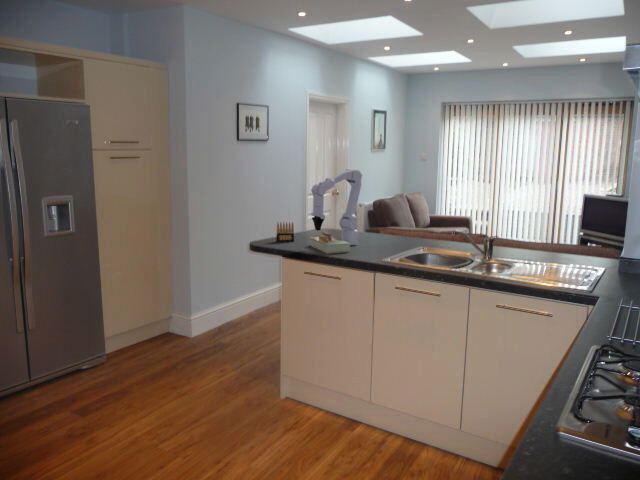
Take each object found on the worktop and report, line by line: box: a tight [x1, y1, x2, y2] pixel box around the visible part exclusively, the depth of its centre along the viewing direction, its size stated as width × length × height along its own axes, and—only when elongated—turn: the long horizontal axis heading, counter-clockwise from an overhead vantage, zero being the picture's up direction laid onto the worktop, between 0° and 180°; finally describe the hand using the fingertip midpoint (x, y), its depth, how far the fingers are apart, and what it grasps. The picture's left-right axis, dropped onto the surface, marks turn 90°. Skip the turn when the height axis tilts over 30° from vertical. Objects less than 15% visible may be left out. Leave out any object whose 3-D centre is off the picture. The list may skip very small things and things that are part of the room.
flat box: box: [309, 238, 351, 255], centre depth 294 cm, size 14×24×5 cm, turn 24°
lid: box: [309, 231, 343, 244], centre depth 297 cm, size 14×16×4 cm
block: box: [318, 234, 328, 243], centre depth 288 cm, size 3×6×3 cm, turn 24°
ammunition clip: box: [275, 221, 295, 243], centre depth 313 cm, size 11×2×12 cm, turn 102°
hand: (317, 230), depth 294 cm, fingers closed
